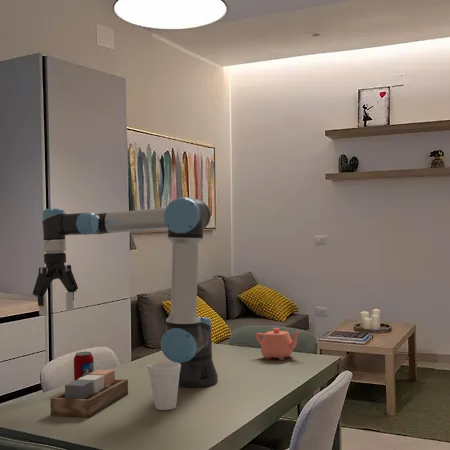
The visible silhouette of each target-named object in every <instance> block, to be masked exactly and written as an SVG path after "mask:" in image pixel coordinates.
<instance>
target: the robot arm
mask: <svg viewBox="0 0 450 450" xmlns="http://www.w3.org/2000/svg"><path fill="white" fill-rule="evenodd" d="M210 220H211V210H210V208H209V206H208V205H207V203H205V202H204V201H203V200H201V199H198V198H193V197H186V196H185V197H183V196H182V197H178V198H175V199H172V201H170V202H169V203H168V205H167V206H166V207H161V208H160V207H158V208H150V209H147V208H146V209H139V210H137V209H136V210H126V211H115V212H100V213H93V212H77V213H74V212H73V213H65V209H64V208H45V209H44V210H42V221H41V222H42V233H43V234H42V235H43V252H44V254H43V263H44V264H45V266H43V267H42V266H41V267H39V268H38V275H37V278H36V281H35V285H34V287H33V290H32V296H35V297H37V306H38V314H39V316H48V314H47V313H48V312H47V311H48V309H47V296H45V295H46V294H47V293H46V292H47V291H48V290H49V287H50V285H51V283H52V282H53V281H54V280H60V282H61V283H62V285H63V286H64V288H65V290H66V291H67V292H66V291H65V303H66V306H65V309H66V311H74V310H75V309H74V308H75V307H74V302H75V301H74V300H75V293H76V292H77V290H78V289H79V286H78V284H77V282H76V279H75V275H74V274H73V271H72V265H71V264H66V263H67V253H66V251H67V246H66V242H67V241H66V236H74V235H75V236H78V235H84V236H86V235H87V236H88V235H103V234H113V233H114V234H116V233H127V232H129V233H131V232H141V231H143V232H144V231H156V230H167V239H169V241H170V242H171V244H172V246H171V247H172V249H171V250H172V251H171V281H170V282H171V283H170V284H171V286H170V287H171V288H170V315H169V316H168V317H166V319H165V332H164V333H163V335H162V337H161V340H160V349H161V351H162V354H163V355H164V356H165V358H166V359H167V360H169V361H170V362H177V363H180V364H181V370H180V375H179V384H178V387H184V388H201V387H202V388H203V387H210V386H212V385H213V386H214V385H215V384H217V383H218V381H219V380H218V379H219V377H218V371H217V370H216V367H215V364H214V361H213V342H212V340H213V339H212V328H213V327H212V321H211V318H209V317H199V316H198V315H197V308H198V307H197V305H198V304H197V303H198V301H197V300H198V298H197V297H198V268H199V267H198V265H199V263H198V261H199V243H201V241H203V239H204V229H206V228H207V226H208V225H209V224H210Z"/></svg>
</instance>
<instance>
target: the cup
mask: <svg viewBox="0 0 450 450" xmlns="http://www.w3.org/2000/svg"><path fill="white" fill-rule="evenodd" d="M147 369H148V374H149V379H150V385H151V390H152V397H153V401H154V406H155V407H154V408H155V410H159V411H169V410H173V409H176V408H177V400H178V393H179V392H178V391H179V386H178V384H179V375H180V370H181V364H180V363H177V362H173V361H160V362H154V363H151V364H148V366H147Z"/></svg>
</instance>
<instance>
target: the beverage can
mask: <svg viewBox="0 0 450 450" xmlns="http://www.w3.org/2000/svg"><path fill="white" fill-rule="evenodd" d="M94 364H95V363H94V356H93V354H92V352H91V351H79V352H77V353H75V354H74V358H73V378H74V380H73V381H75V380H78V379H79V378H81V377H83V376H85V375H89V374H90V373H92V372H94V371H95V365H94Z"/></svg>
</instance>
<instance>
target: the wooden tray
mask: <svg viewBox="0 0 450 450" xmlns="http://www.w3.org/2000/svg"><path fill="white" fill-rule="evenodd" d="M128 395H129V379H128V378H115V382H114V383H113V384H111V385H109V386H106V385H104V388H103V389H102V390H100V391H98V392H93V394H92V395H91V396H89V397H87V398H85V399H71V398H65V391H63V392H61V393H58V394H57V395H55V396H53V397H51V398H50V399H49V400H50V401H49V402H50V416H54V417H67V418H70V417H71V418H85V419H86V418H88V419H91V418H92V417H94V416H95V415H97V414H99V413H100V412H102V411H103V410H105V409H107V408H109V407H110V406H112V405H113V404H115V403H116V402H118V401H120V400H122V399H123V398H125V397H126V396H128Z"/></svg>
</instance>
